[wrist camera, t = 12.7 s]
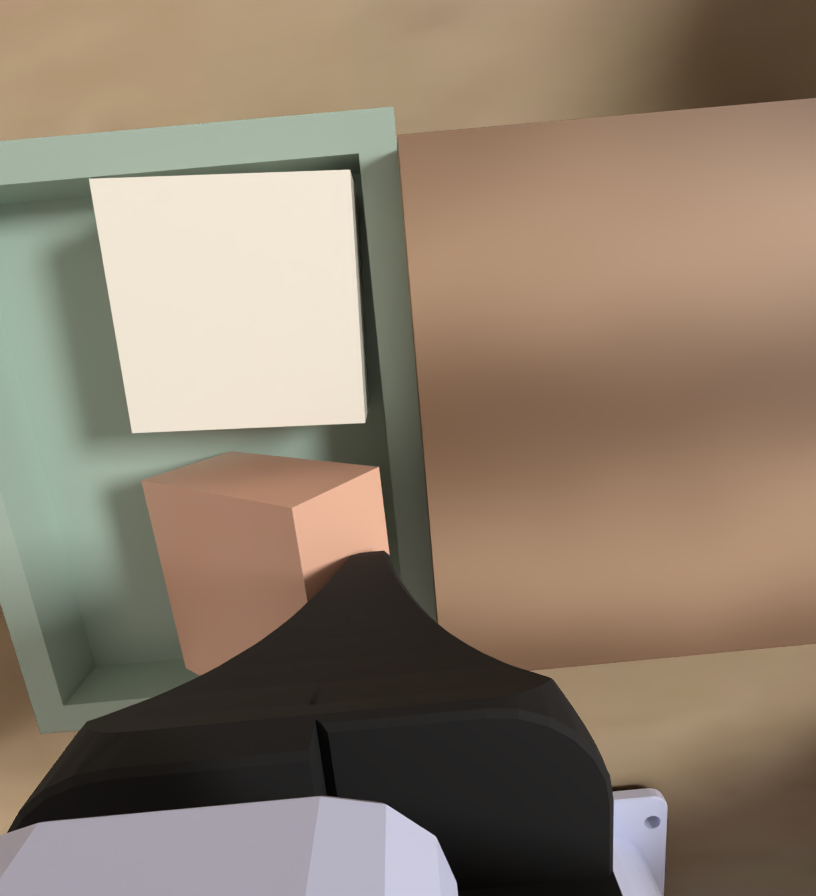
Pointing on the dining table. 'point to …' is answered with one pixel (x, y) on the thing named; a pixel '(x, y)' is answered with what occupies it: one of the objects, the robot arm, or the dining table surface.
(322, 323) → the tile
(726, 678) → the dining table surface
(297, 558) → the tile terracotta
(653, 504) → the board
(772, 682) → the dining table surface
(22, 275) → the tray
